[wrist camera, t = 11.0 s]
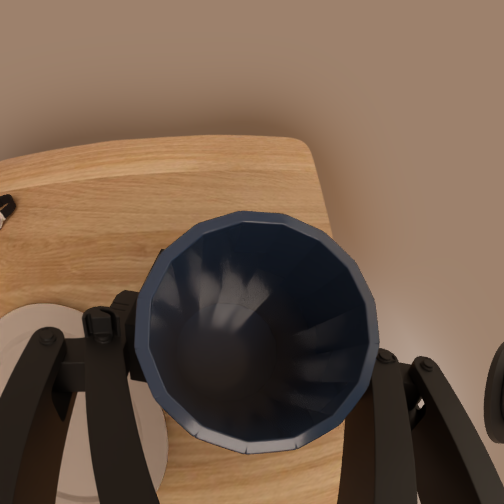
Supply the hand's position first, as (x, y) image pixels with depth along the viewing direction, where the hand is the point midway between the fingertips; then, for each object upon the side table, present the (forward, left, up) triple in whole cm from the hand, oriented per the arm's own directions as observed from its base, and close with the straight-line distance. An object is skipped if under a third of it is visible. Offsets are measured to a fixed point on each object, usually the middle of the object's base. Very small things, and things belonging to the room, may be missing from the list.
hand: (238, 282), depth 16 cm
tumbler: (-3, 0, -3) cm, 5 cm away
